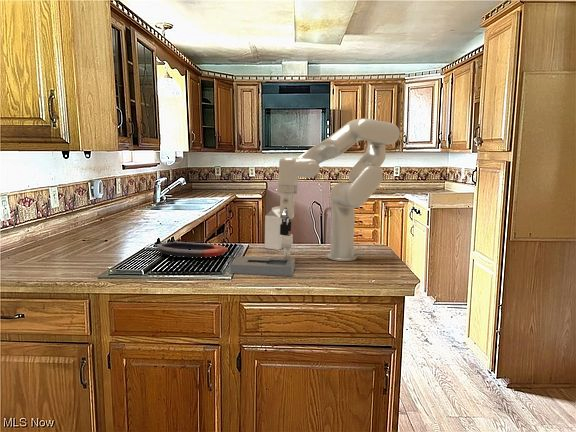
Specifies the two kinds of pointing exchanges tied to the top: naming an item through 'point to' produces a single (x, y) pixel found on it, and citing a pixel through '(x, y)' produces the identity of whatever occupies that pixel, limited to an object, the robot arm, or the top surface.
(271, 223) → the milk carton
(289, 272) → the keyhole plate
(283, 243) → the peg
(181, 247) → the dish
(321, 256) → the top surface
